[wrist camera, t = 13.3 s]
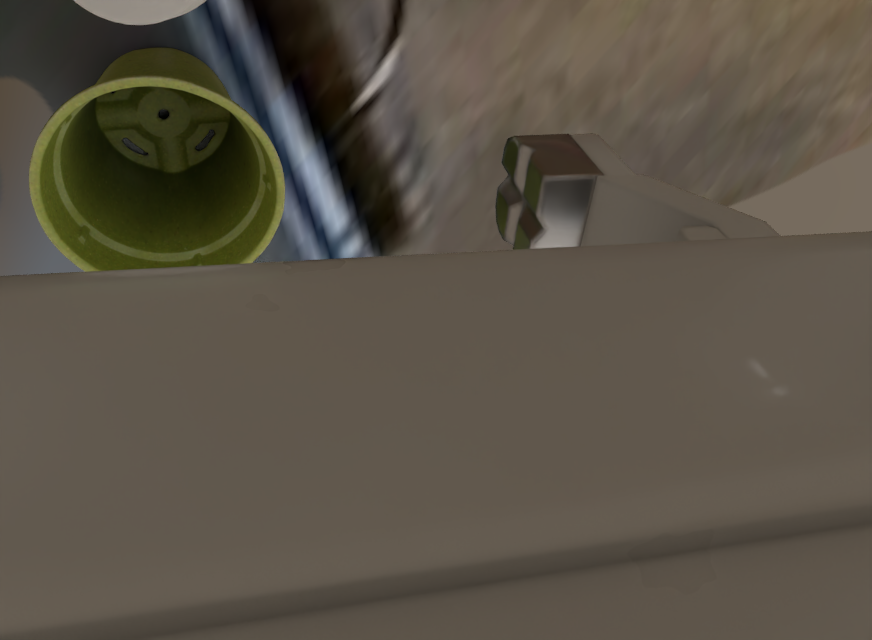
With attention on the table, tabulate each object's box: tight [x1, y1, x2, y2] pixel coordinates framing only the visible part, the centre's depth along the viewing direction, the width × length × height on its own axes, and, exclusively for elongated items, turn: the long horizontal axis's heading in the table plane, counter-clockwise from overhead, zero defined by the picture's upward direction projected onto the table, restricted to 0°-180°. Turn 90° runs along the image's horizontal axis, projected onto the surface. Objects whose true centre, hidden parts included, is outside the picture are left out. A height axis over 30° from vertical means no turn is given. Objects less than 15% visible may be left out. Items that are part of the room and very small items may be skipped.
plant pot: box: [29, 48, 285, 272], centre depth 35 cm, size 9×9×9 cm
